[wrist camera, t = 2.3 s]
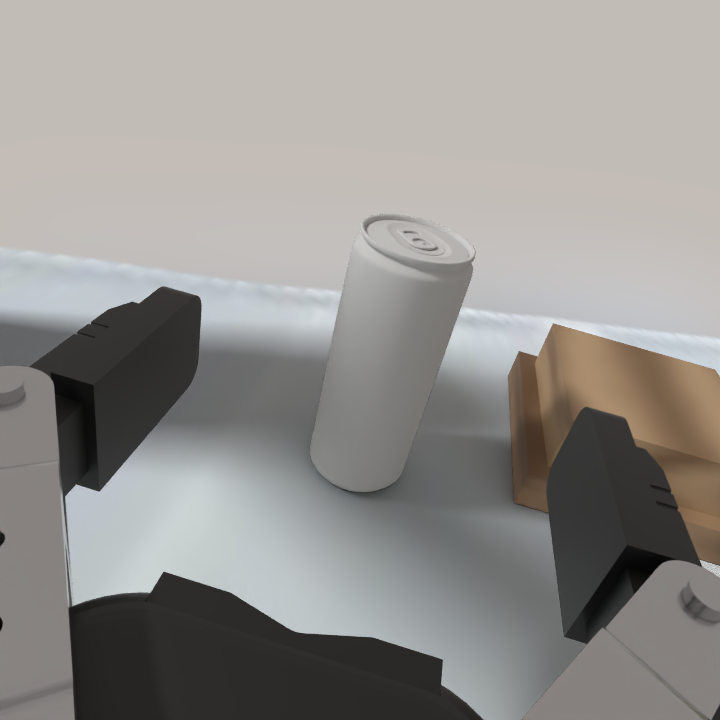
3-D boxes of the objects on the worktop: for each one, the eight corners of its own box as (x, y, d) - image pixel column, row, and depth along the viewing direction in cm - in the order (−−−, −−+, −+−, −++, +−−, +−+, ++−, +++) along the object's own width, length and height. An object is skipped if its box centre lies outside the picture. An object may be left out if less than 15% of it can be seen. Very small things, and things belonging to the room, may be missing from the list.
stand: (514, 502, 28) (553, 426, 25) (508, 375, 38) (536, 311, 36) (754, 575, 28) (820, 506, 25) (683, 426, 38) (725, 365, 35)
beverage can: (327, 507, 25) (391, 264, 19) (293, 435, 29) (338, 209, 22) (418, 489, 28) (504, 266, 21) (376, 424, 31) (439, 215, 24)
